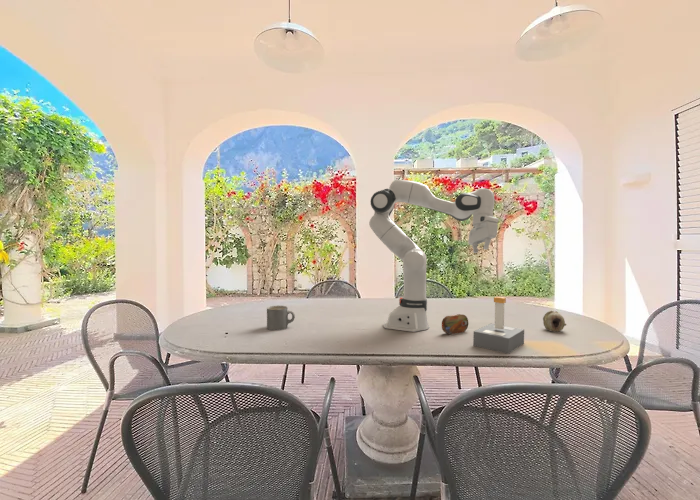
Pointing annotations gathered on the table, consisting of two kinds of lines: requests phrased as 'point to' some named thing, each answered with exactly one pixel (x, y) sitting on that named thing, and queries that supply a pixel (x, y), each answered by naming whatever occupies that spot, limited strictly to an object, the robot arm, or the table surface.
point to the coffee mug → (278, 317)
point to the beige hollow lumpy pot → (553, 321)
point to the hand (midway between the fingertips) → (480, 251)
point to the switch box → (498, 338)
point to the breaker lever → (499, 312)
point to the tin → (455, 324)
